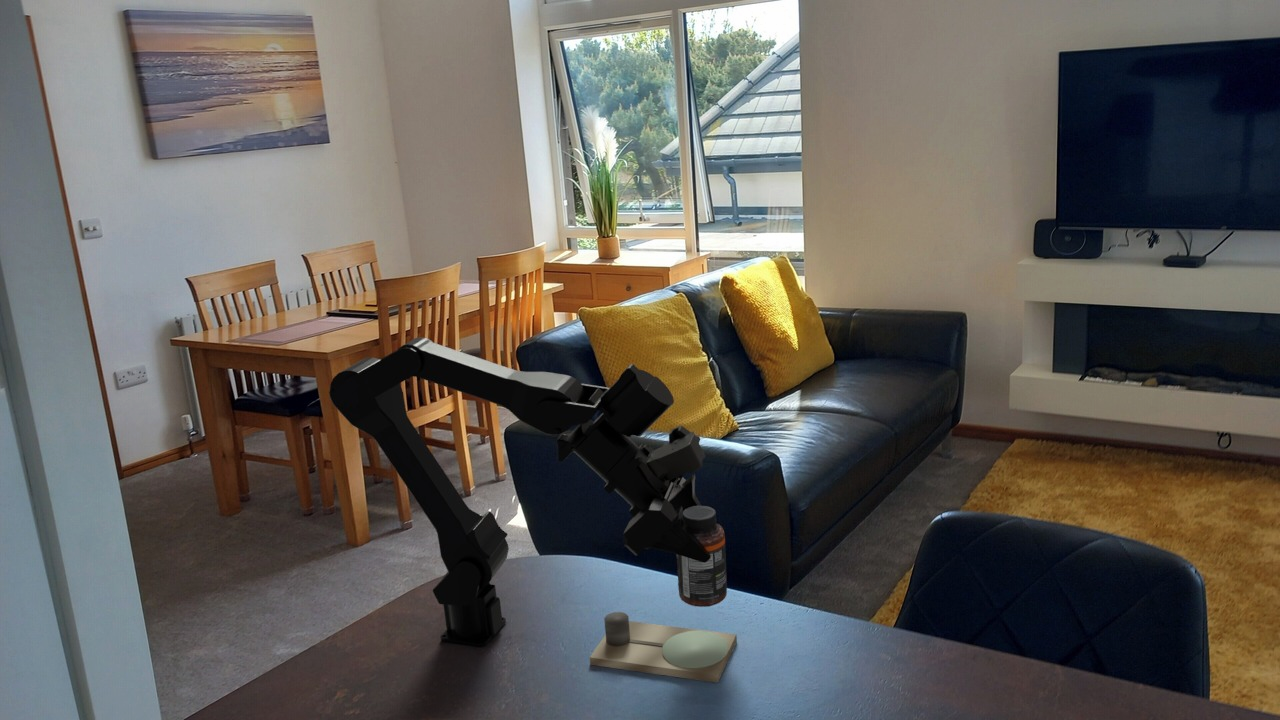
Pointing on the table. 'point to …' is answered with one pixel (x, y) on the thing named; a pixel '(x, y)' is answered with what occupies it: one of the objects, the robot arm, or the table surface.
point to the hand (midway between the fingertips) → (711, 547)
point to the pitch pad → (695, 649)
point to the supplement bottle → (698, 578)
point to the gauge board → (649, 649)
